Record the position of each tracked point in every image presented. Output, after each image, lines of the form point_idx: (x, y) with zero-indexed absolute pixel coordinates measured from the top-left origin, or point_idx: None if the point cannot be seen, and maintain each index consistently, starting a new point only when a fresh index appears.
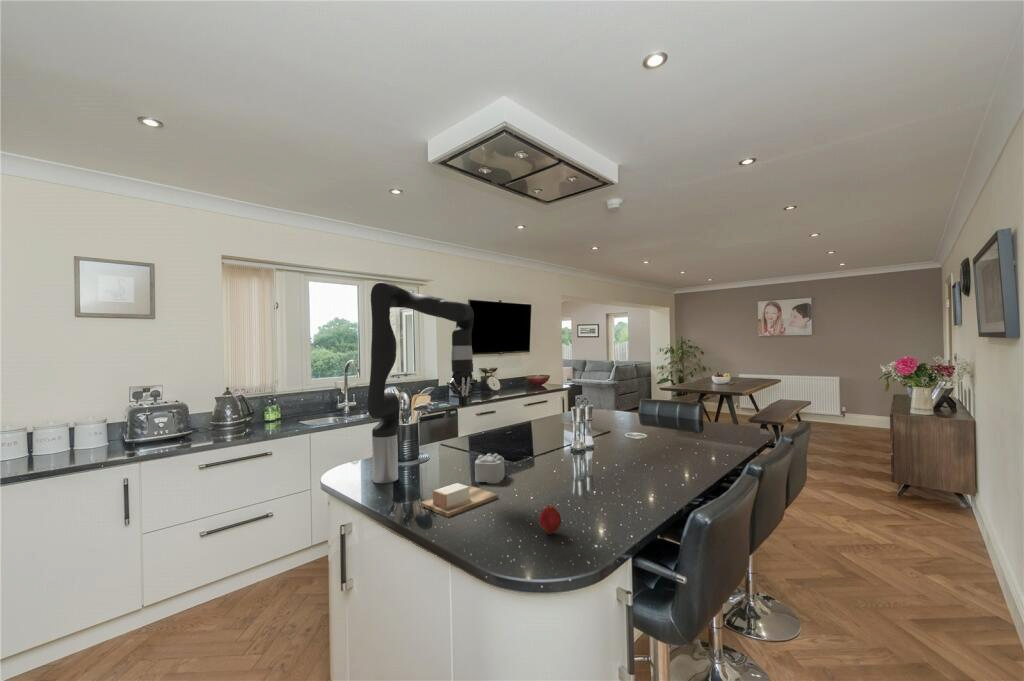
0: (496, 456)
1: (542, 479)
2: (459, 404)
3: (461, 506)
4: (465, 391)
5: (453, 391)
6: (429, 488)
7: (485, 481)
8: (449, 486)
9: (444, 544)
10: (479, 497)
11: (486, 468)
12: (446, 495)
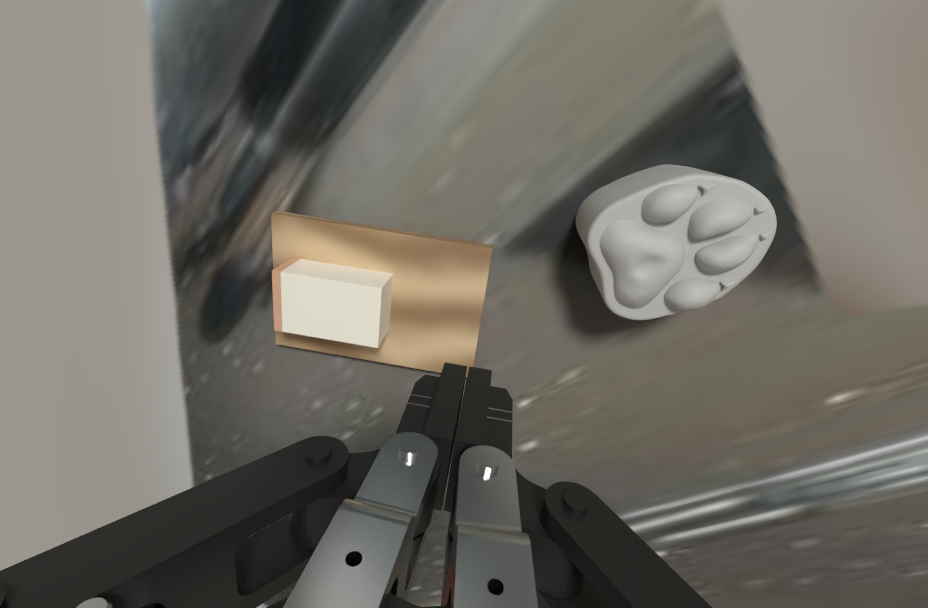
0: (710, 270)
1: (712, 403)
2: (418, 388)
3: (332, 345)
4: (443, 581)
5: (251, 490)
6: (411, 93)
7: (586, 250)
8: (337, 290)
9: (193, 418)
10: (418, 346)
11: (596, 270)
12: (283, 330)
